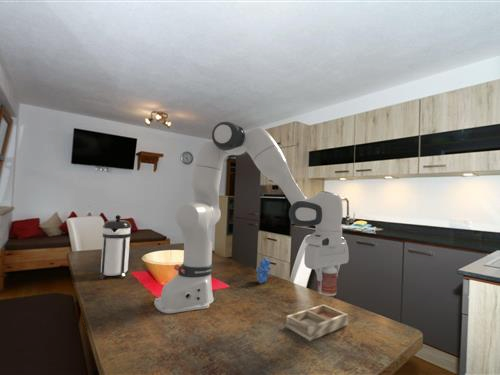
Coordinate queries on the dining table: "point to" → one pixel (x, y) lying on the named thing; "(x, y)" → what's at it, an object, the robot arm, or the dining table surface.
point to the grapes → (263, 270)
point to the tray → (316, 321)
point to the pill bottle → (328, 281)
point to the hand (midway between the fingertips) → (327, 278)
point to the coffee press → (115, 248)
